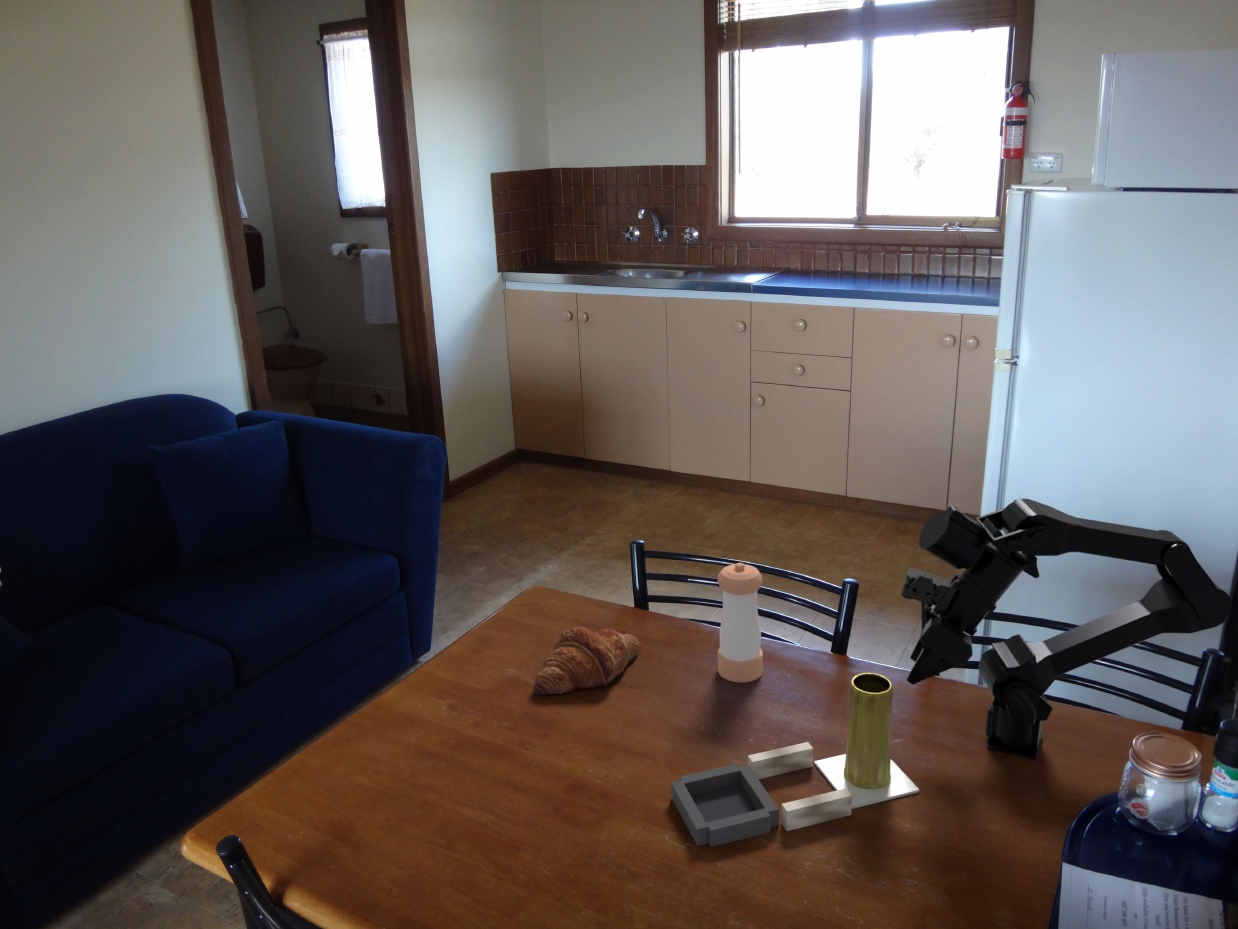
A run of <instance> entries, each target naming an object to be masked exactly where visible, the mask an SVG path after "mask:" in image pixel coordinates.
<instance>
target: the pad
mask: <svg viewBox="0 0 1238 929" xmlns="http://www.w3.org/2000/svg"><path fill="white" fill-rule="evenodd" d="M845 760H846V753H845V754H841V755H840V754H839V755H835V756H832V757H831V756H830V757H828V758H823V759H819V760H813V764H814V765H815V767H816V768H817V769H818V770H819V772H821V774H822V775H823V776H824V777H825V779H826V780H827V781H828V783H829V784H830V785H831V786H832V787H833V789H834V791H837V790H841V789H845V788H846V789H847V790H848V791H849V792H850V794H851V795H852V809H851V810H854V809H857V808H861V807H866V806H870V805H873V804H877V803H881V802H885V801H890V800H893V799H896V798H898V799H899V798H901V797H905V796H909V795H914V794H917V793H920V789H919V787H918V786H917V785H915V783H914V782H913V781H912V780H911V779H910V778H909V777H908V776H907V775H906V774H905V772H904V771H902V770H901V768H900V767H899V766H898V765H897V763H895V761H894V760H893V759H891V764H890V773H891V779H890V781H889V782H888V783H887V784H886V785H885V786H883V787H880V788H875V789H867V788H862V787H859V786H856V785H854V784H853V783H851V782H850V781H849V780H848V779H847V778H846V776H845V774H844V768H845Z"/></svg>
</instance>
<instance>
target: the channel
mask: <svg viewBox="0 0 1238 929" xmlns="http://www.w3.org/2000/svg"><path fill="white" fill-rule="evenodd" d="M813 764H814V747H813V745H811V744H810V742H809V741H806V742H802V743H798V744H794V745H793V744H792V745H789V746H788V745H787V746H785V747H780V748H775V749H770V750H767V751H762V752H757V753H753V754H748V755H747V765H749V767H750V768H751V769H752V771H753V772H754V774H755V775H756V777H757V778H758V780H762V779H766V778H769V777H770V778H771V777H773V776H778V775H783V774H786V773H787V774H788V773H791V772H796V771H799V770H804V769H808V768H813ZM852 810H853V809H852V795H851V794H850V792H849V791H848V790H847V789H846V788H845V789H841V790H837V791H836V790H833V791H829V792H826V793H821V794H816V795H813V796H808V797H805V798H800V799H796V800H791V801H788V802H783V803H781V825H782V826H783V828H784V829H785V831H786V832H791V831H792V830H798V829H802V828H805V827H809V826H813V825H818V824H821V823H824V822H825V823H826V822H830V821H833V820H837V819H841V818H845V817H849V816H852Z"/></svg>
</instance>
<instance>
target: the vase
mask: <svg viewBox="0 0 1238 929" xmlns="http://www.w3.org/2000/svg"><path fill="white" fill-rule="evenodd" d="M893 688H894V687H893V683H892V681H891V680H890V679H889V678H888V677H887V676H885V675H881V674H880V673H875V672H861V673H859V674H856V675H854V676H853V677H852V678H851V680H850V701H849V718H848V719H849V720H848V731H847V740H846V742H847V743H846V749H845V750H846V752H845V754H846V760H845V768H844V774H845V776H846V778H847V779H848V780H849V781H850V782H851V783H853V784H854V785H856V786H859V787H862V788H867V789H875V788H880V787H883V786H885V785H886V784H887V783H888V782H889V781H890V779H891V773H890V764H891V760H892V759H891V758H892V757H891V755H892V753H891V750H892V749H891V748H892V744H891V743H892V742H891V741H892V740H891V739H892V709H893V708H892V706H893Z"/></svg>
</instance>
